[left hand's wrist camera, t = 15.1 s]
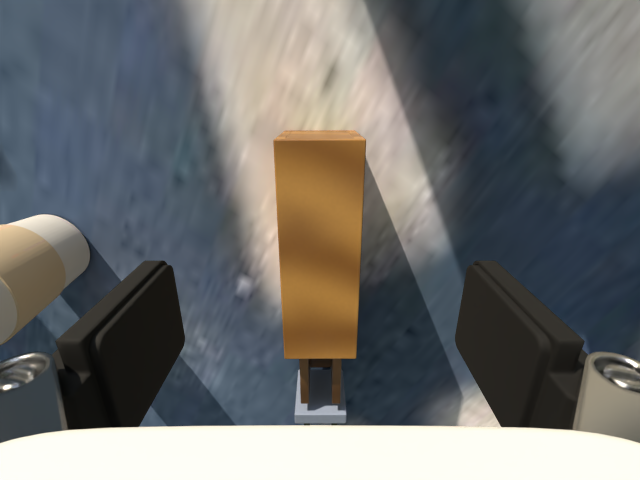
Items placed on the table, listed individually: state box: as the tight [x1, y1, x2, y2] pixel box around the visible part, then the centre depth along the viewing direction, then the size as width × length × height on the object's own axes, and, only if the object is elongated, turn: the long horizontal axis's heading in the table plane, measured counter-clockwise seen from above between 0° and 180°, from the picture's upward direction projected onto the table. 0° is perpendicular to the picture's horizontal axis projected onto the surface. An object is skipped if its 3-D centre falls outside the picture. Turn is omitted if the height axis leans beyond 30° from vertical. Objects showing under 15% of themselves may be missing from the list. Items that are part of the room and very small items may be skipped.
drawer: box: [295, 359, 346, 425], centre depth 35 cm, size 23×5×6 cm, turn 0°
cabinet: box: [273, 131, 366, 359], centre depth 30 cm, size 18×6×8 cm, turn 0°
